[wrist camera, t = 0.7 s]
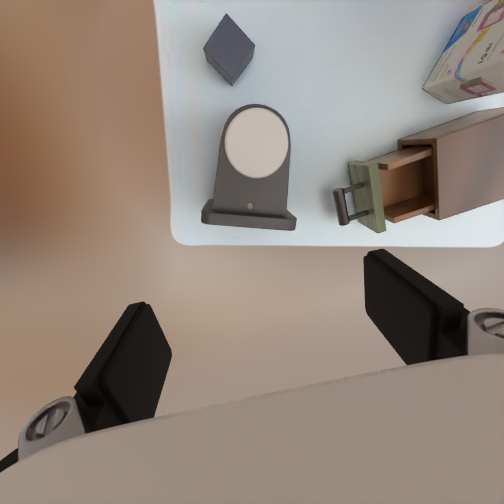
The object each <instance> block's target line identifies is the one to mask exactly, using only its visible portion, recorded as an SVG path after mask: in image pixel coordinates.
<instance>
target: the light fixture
mask: <svg viewBox="0 0 504 504" xmlns="http://www.w3.org/2000/svg"><path fill="white" fill-rule="evenodd" d="M290 148H291V146H290V134H289V129H288V126H287V124H286V122H285V120H284V119H283V117H282V116H281V115H280V114H279V113H278V112H277V111H275V110H274V109H272V108H270V107H268V106H265V105H260V104H251V105H246V106H243V107H241V108H239V109H237V110H236V111H235V112H234V113H232V114H231V116H230V117H229V118H228V120H227V122H226V124H225V126H224V129H223V132H222V136H221V142H220V149H219V157H218V165H217V173H216V181H215V190H214V198H213V199H209V200H208V201H207V203H206V204H205V206H204V207H203V209H202V211H201V222H202V223H204V224H210V225H223V226H236V227H249V228H262V229H274V230H288V231H292V230H295V226H296V220H297V218H296V217H295V216H293V215H292V214H291V213H290V212H289V211H288V210H286V208H287V194H288V179H289V164H290Z"/></svg>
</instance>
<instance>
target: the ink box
mask: <svg viewBox="0 0 504 504" xmlns="http://www.w3.org/2000/svg"><path fill="white" fill-rule="evenodd" d="M423 89H424V90H426V91H427V92H428V93H430V94H432V95H433V96H435V97H436V98H438V99H440V100H441V101H443V102H445V103H446V104H450V103H455V102H460V101H464V100H469V99H474V98H479V97H483V96H488V95H493V94H498V93H502V92H504V0H491V1H490V2H488V3H486V4H485V5H483V6H481V7H479V8H478V9H476V10H474V11H473V12H471V13H469V14H468V15H466V16H464V18H463V19H462V21H461V23H460V25H459V26H458V28H457V30H456V31H455V33H454V35H453V36H452V38H451V40H450V42H449V43H448V45H447V47H446V49H445V50H444V52H443V54H442V56H441V57H440V59H439V61H438V62H437V64H436V66H435V67H434V69H433V71H432V73H431V74H430V76H429V78H428V79H427V81H426V83H425V85H424V86H423Z"/></svg>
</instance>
